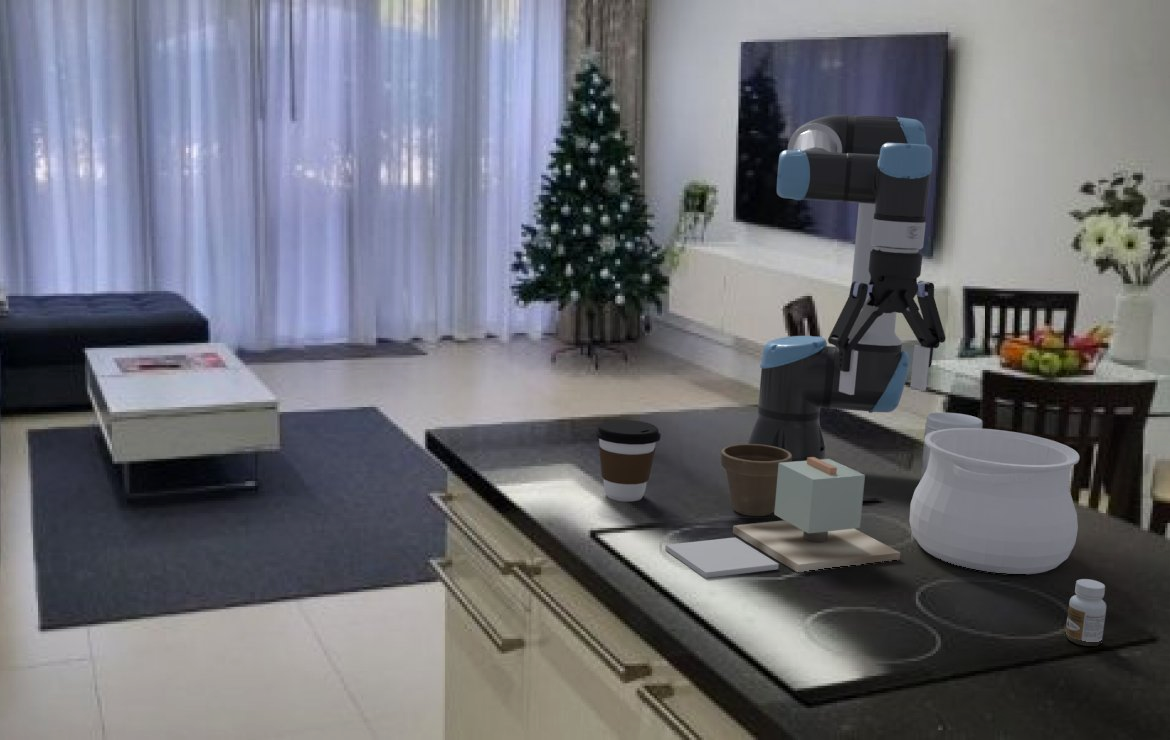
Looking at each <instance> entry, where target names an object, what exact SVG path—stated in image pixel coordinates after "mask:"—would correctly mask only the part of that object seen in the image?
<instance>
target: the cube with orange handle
mask: <svg viewBox="0 0 1170 740" xmlns="http://www.w3.org/2000/svg"><path fill="white" fill-rule="evenodd" d="M865 478H866V474H865V473H864V474H863V473H861V472H859V471H857V470H855V469H852V468H850V467H848V466H846V465H844V464H841V463H839V462H837V461H835V460H832V459H831V458H825V459H821V460H819V459H817V458H815V457H807V461H795V462H783V463H779V464H778V476H777V488H776V500H775V508H774V511H773V513H774V516H777V517H778V518H780V519H781V520H782V521H784V520H785V521H787V522H789V523H790V524H792V525H794V526H796V527H798V528H799V529H801V530H803V531H805V532H807V533H817V532H827V531H836V530H845V529H860V528H861V520H862V509H863V501H864V499H863V498H864V489H865V480H866V479H865Z"/></svg>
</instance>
